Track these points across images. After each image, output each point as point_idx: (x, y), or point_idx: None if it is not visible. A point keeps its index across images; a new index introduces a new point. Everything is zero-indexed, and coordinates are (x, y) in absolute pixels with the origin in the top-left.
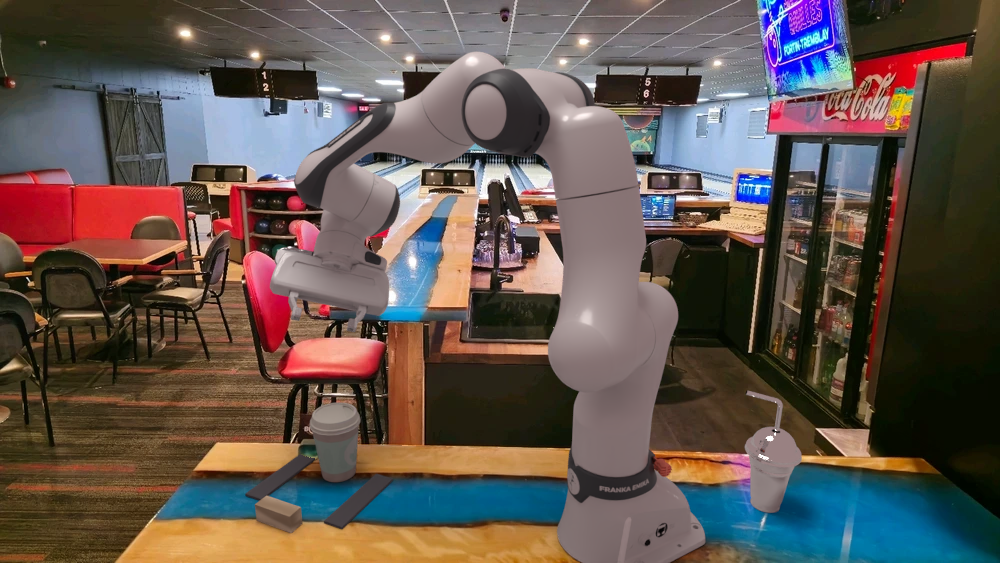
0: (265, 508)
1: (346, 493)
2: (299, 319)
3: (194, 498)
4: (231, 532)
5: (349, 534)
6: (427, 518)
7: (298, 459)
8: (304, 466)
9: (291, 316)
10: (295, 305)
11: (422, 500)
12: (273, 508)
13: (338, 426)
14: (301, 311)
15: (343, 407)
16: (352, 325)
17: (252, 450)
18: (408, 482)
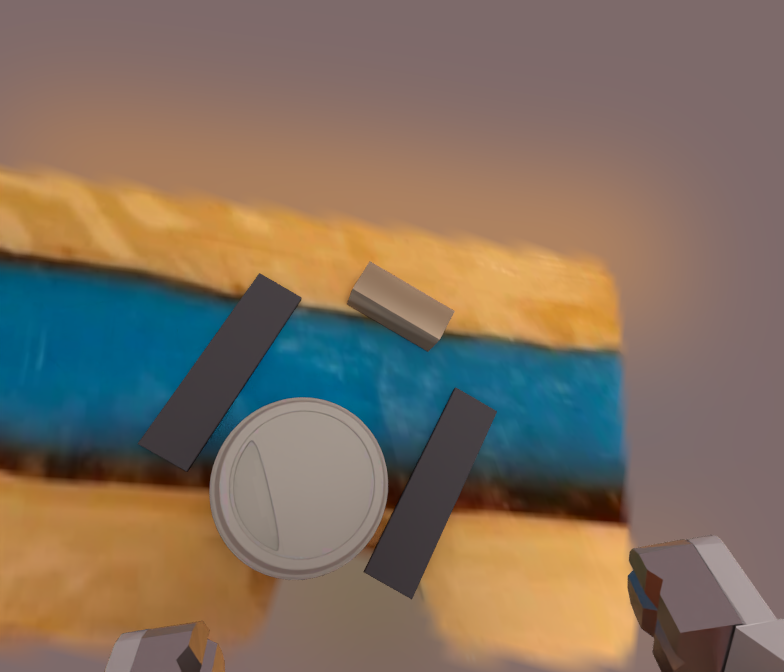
0: (427, 295)
1: (263, 399)
2: (632, 576)
3: (594, 413)
4: (478, 297)
5: (242, 259)
6: (57, 285)
7: (414, 557)
8: (390, 520)
9: (707, 536)
10: (771, 637)
11: (62, 352)
12: (410, 291)
13: (279, 404)
14: (663, 597)
15: (277, 544)
16: (154, 641)
17: (552, 622)
18: (94, 433)
